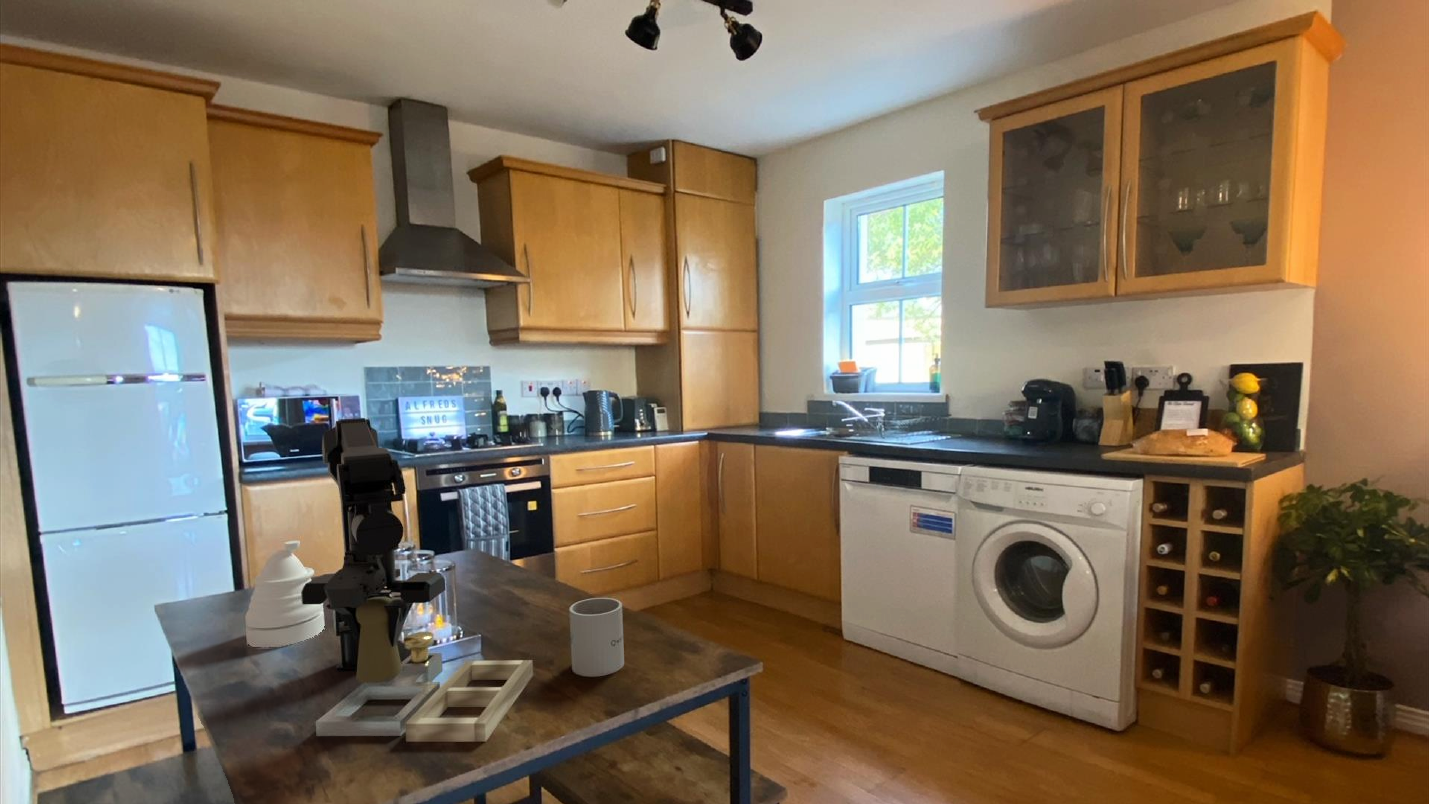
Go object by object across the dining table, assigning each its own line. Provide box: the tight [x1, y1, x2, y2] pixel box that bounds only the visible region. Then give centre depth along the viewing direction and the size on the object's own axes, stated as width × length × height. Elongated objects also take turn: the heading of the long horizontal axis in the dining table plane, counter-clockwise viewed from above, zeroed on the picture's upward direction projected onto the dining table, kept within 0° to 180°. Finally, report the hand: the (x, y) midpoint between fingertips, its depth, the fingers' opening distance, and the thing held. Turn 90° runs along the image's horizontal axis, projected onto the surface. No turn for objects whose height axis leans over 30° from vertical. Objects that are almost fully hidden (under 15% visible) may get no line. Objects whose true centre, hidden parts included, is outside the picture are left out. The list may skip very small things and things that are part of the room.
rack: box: [405, 659, 534, 743], centre depth 104 cm, size 11×20×2 cm, turn 177°
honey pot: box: [244, 540, 325, 649], centre depth 134 cm, size 13×13×18 cm
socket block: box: [315, 652, 444, 737], centre depth 106 cm, size 12×20×3 cm, turn 177°
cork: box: [355, 597, 402, 683], centre depth 101 cm, size 6×6×11 cm
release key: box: [403, 631, 434, 664], centre depth 114 cm, size 4×4×6 cm
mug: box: [569, 597, 625, 678], centre depth 118 cm, size 12×9×10 cm
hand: (377, 646), depth 101 cm, fingers closed on cork, 4 cm apart
